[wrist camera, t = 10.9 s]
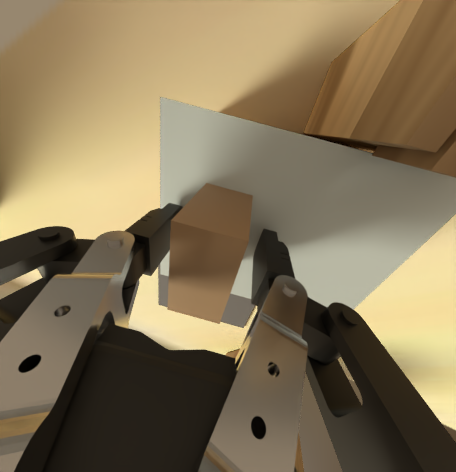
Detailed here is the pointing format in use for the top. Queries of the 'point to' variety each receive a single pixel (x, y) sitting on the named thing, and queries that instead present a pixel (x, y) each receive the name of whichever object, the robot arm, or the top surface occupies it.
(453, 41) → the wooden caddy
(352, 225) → the lid
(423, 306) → the top surface
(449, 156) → the wooden peg
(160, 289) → the mat
